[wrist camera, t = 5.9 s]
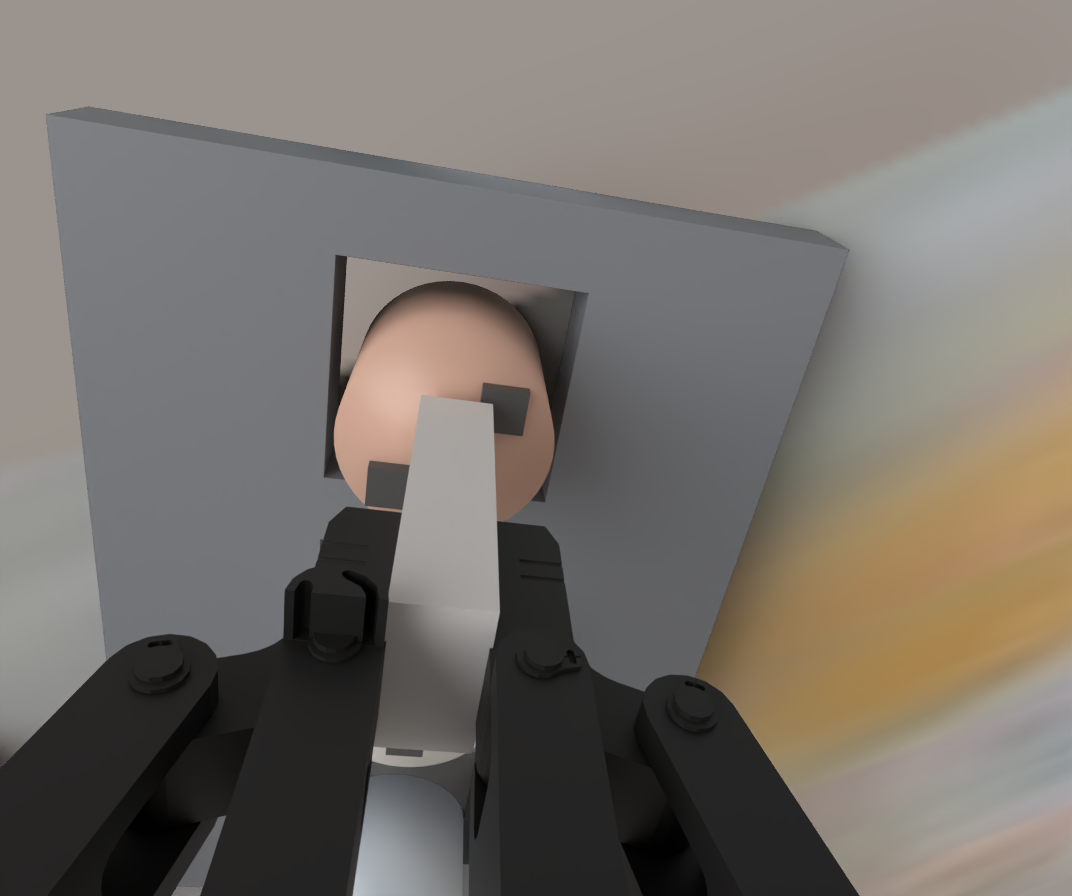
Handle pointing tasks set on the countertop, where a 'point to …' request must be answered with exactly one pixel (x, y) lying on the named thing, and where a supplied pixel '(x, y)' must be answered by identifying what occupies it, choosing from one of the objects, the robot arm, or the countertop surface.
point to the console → (314, 372)
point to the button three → (444, 391)
